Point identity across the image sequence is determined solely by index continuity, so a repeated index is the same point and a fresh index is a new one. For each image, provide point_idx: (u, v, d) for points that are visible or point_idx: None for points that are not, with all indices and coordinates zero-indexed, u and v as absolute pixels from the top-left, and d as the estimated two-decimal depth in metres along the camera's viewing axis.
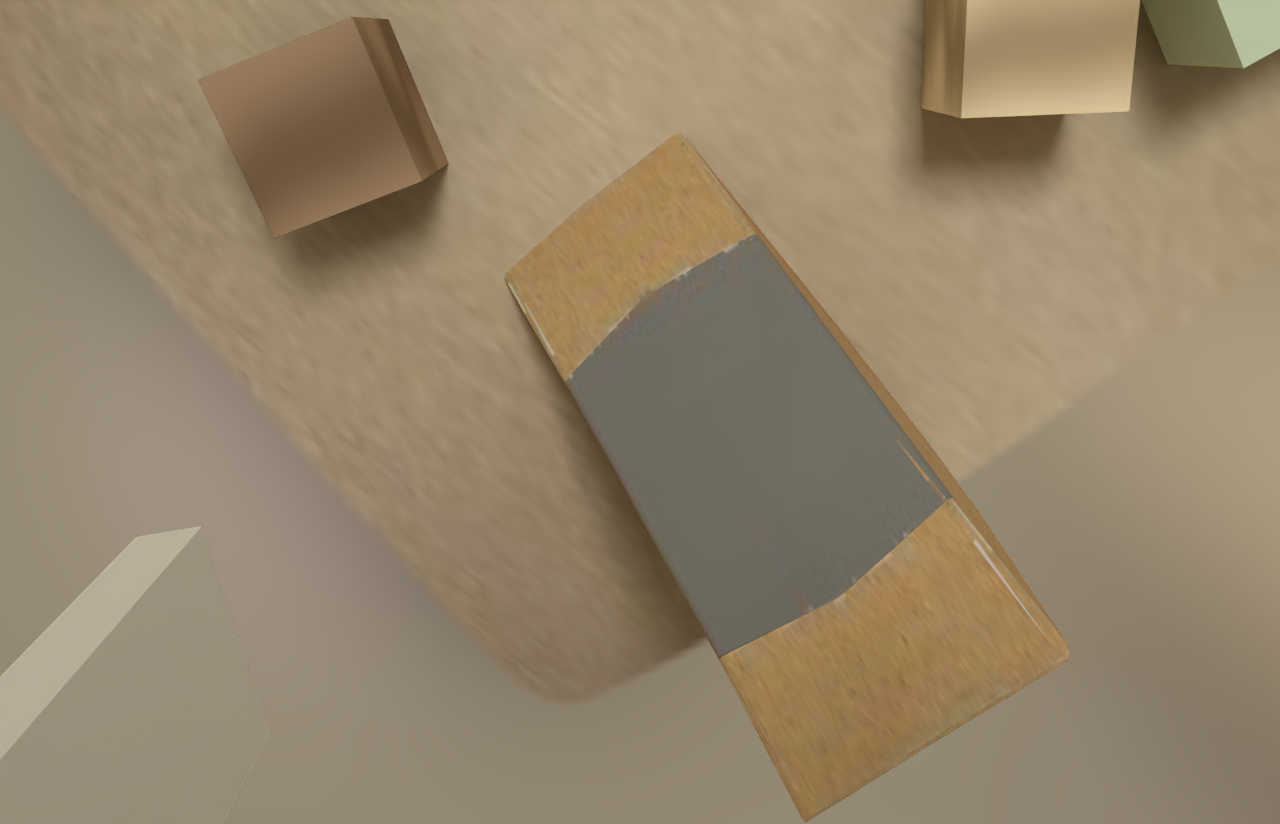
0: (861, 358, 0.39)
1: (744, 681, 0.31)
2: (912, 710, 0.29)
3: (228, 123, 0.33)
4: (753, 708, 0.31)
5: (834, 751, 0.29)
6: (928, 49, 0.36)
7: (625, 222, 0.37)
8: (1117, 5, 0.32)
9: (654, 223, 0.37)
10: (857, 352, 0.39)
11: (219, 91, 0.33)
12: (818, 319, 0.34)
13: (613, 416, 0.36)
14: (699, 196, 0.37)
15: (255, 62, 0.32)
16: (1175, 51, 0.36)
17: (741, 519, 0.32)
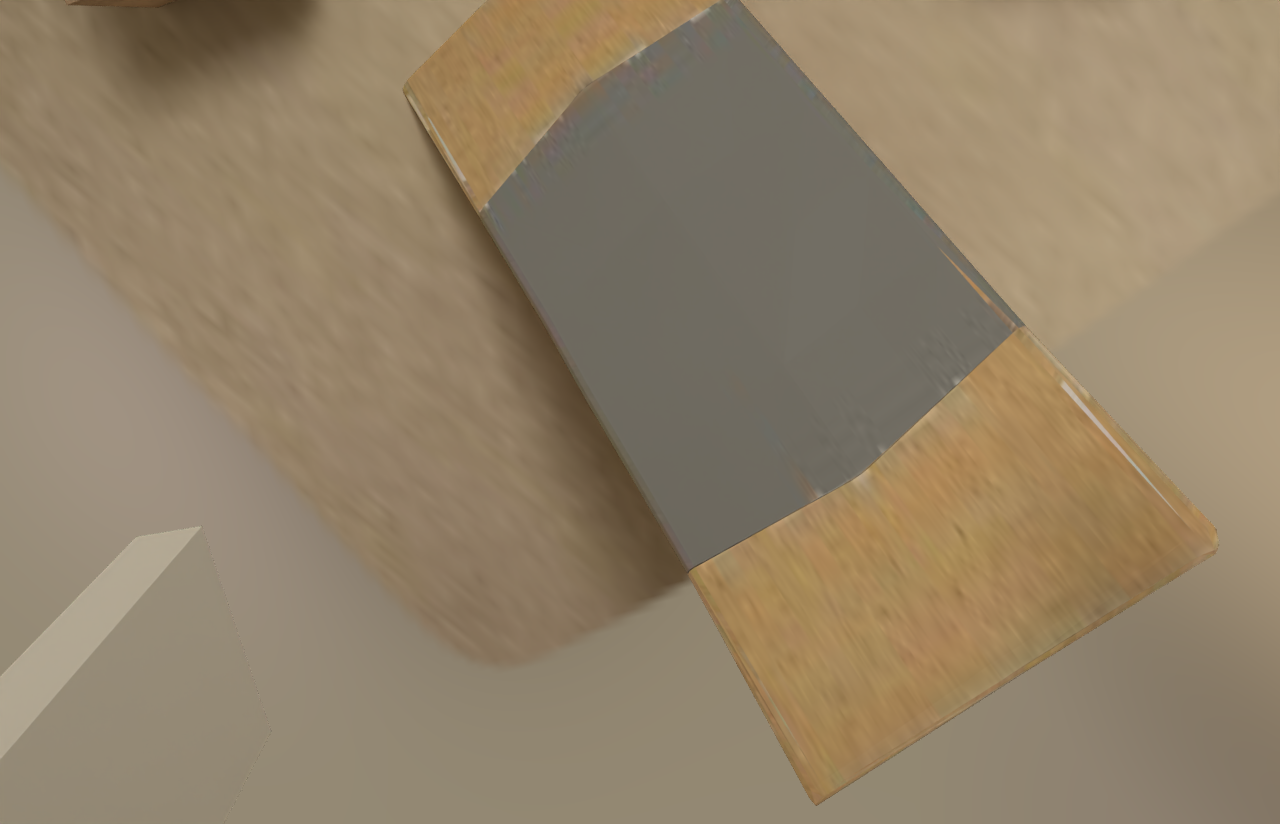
0: None
1: (723, 603, 0.21)
2: (975, 635, 0.19)
3: None
4: (737, 641, 0.21)
5: (857, 701, 0.20)
6: None
7: None
8: None
9: None
10: None
11: None
12: (823, 97, 0.24)
13: (542, 251, 0.26)
14: None
15: None
16: None
17: (718, 376, 0.23)
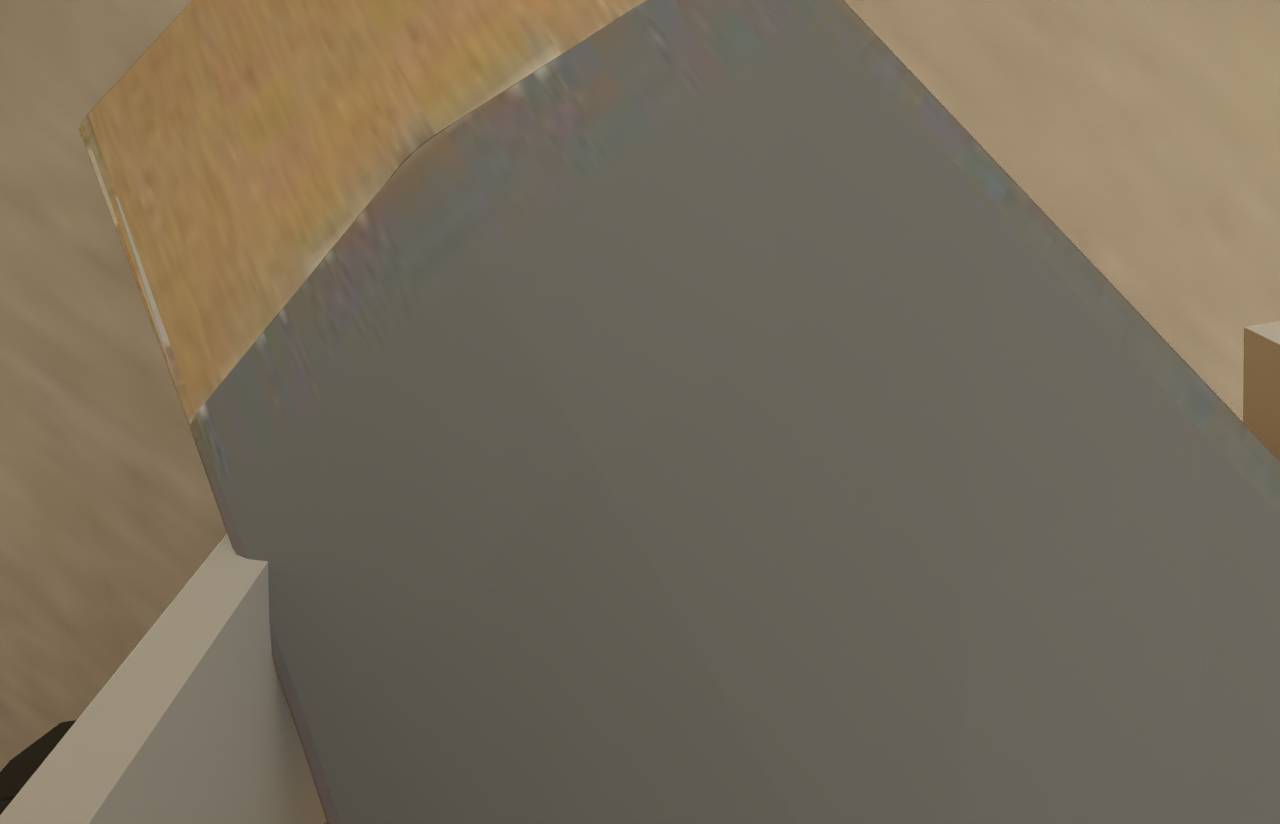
0: None
1: None
2: None
3: None
4: None
5: None
6: None
7: None
8: None
9: None
10: None
11: None
12: (1027, 199, 0.09)
13: (304, 547, 0.11)
14: None
15: None
16: None
17: None
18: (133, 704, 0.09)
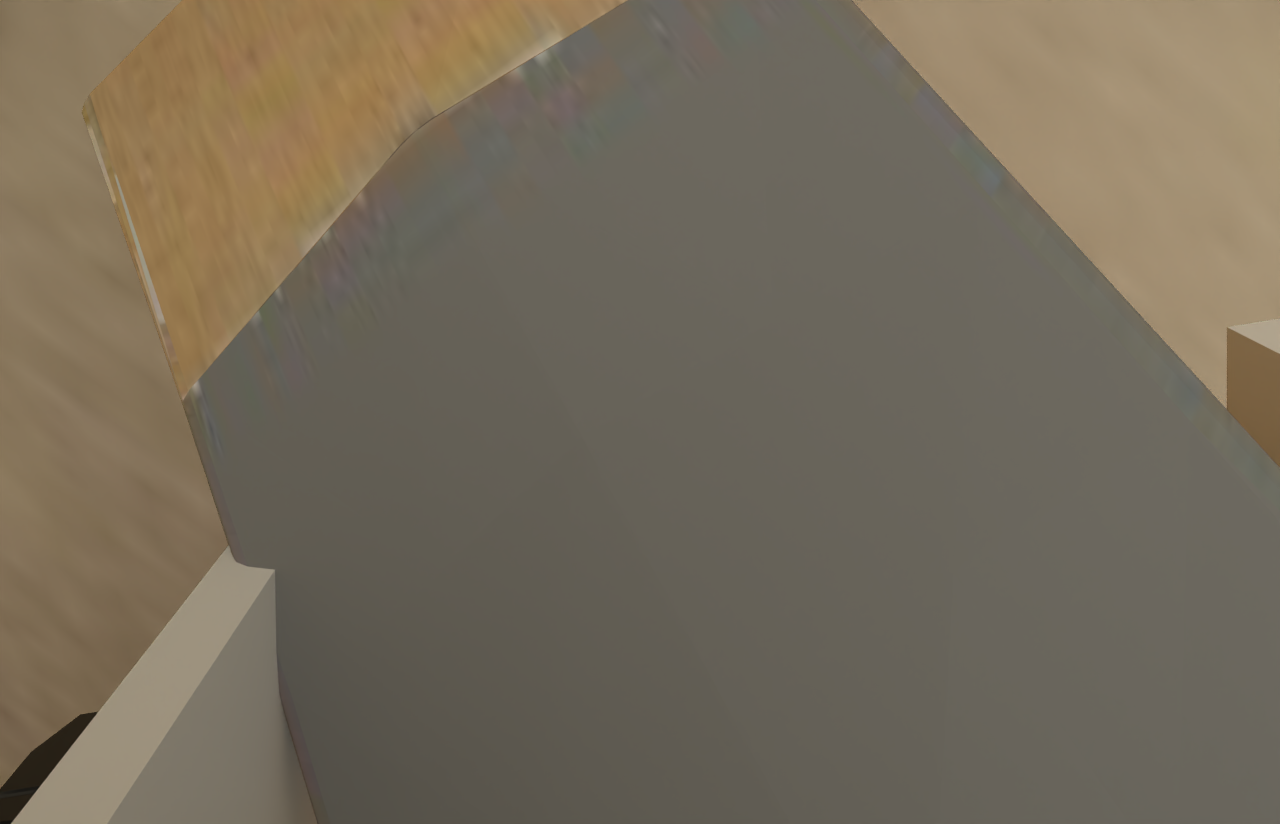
0: None
1: None
2: None
3: None
4: None
5: None
6: None
7: None
8: None
9: None
10: None
11: None
12: (1021, 189, 0.09)
13: (293, 524, 0.11)
14: None
15: None
16: None
17: None
18: (155, 695, 0.09)
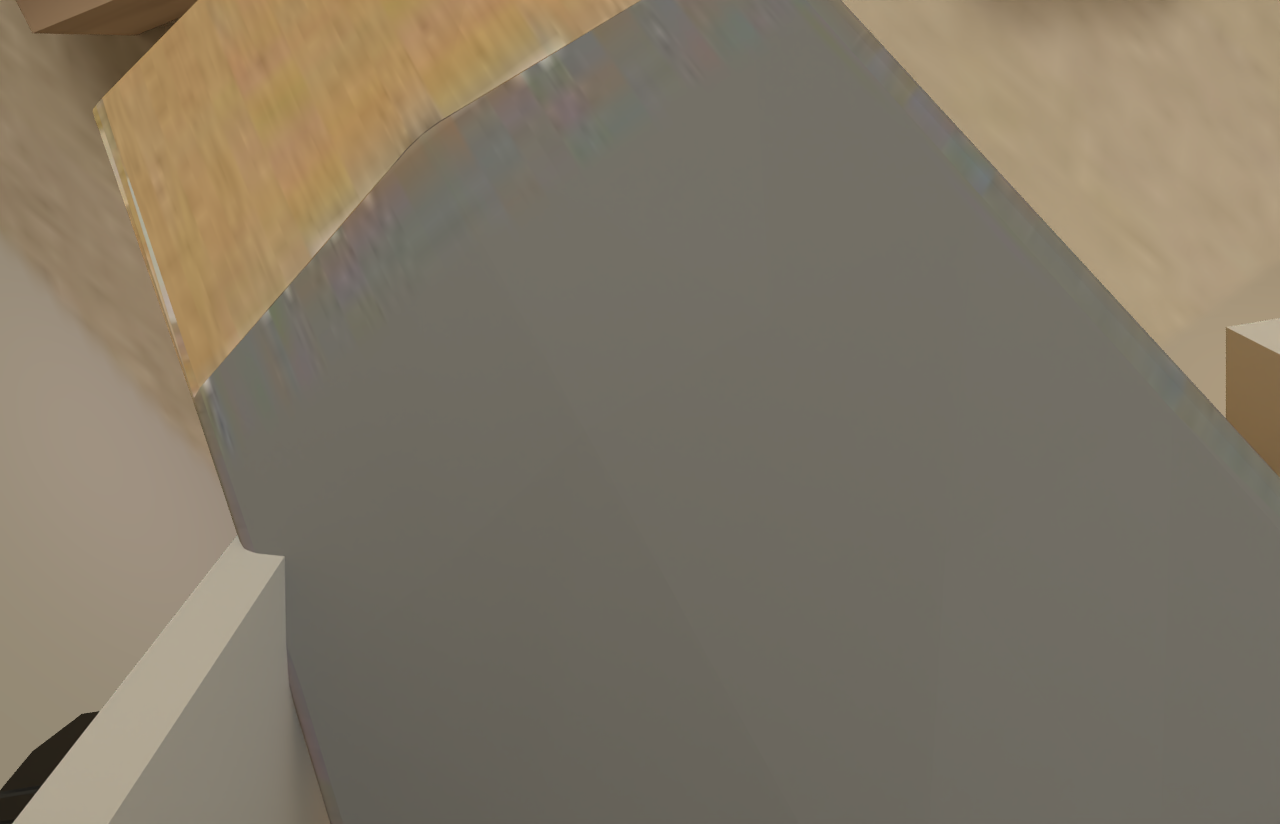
0: None
1: None
2: None
3: None
4: None
5: None
6: None
7: None
8: None
9: None
10: None
11: None
12: (1010, 188, 0.09)
13: (302, 516, 0.11)
14: None
15: None
16: None
17: None
18: (157, 694, 0.09)
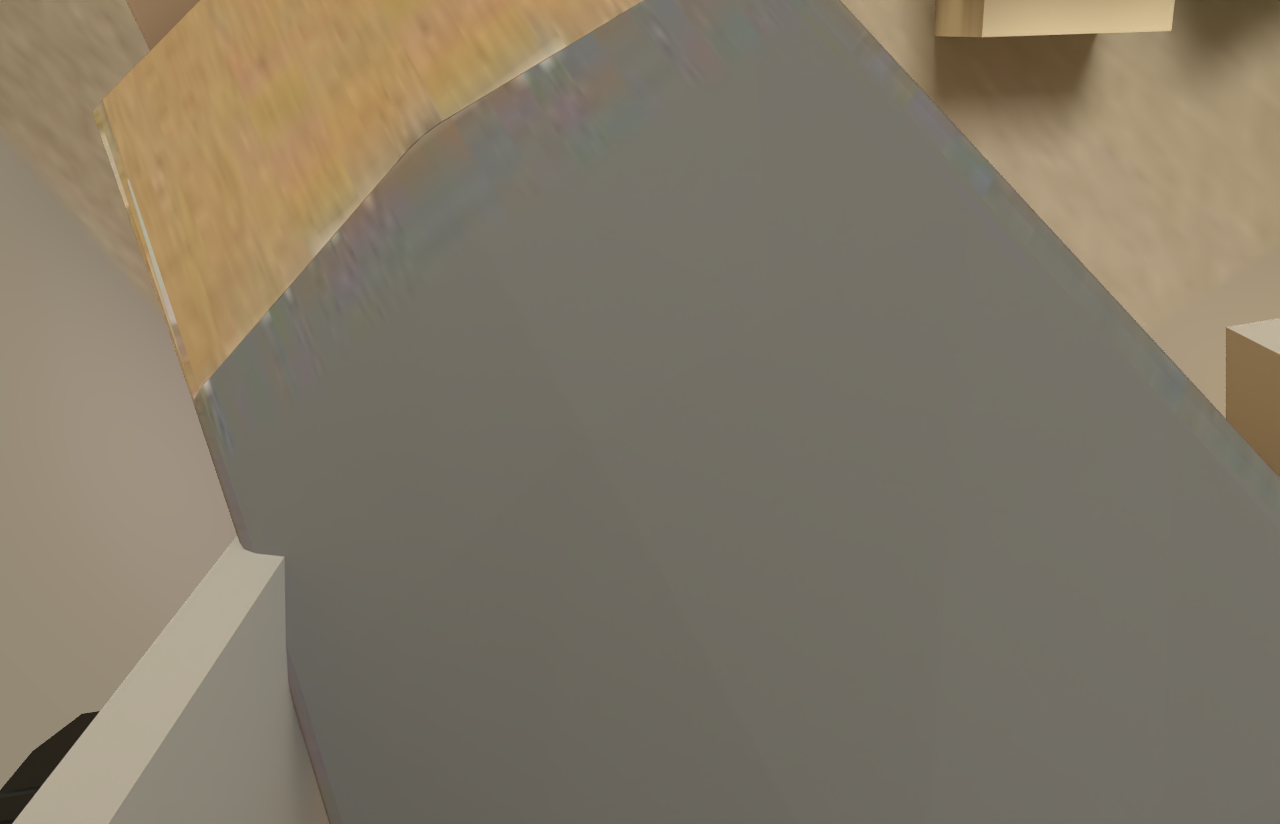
0: None
1: None
2: None
3: (154, 36, 0.29)
4: None
5: None
6: None
7: None
8: None
9: None
10: None
11: None
12: (1011, 190, 0.09)
13: (303, 518, 0.11)
14: None
15: None
16: None
17: None
18: (156, 695, 0.09)
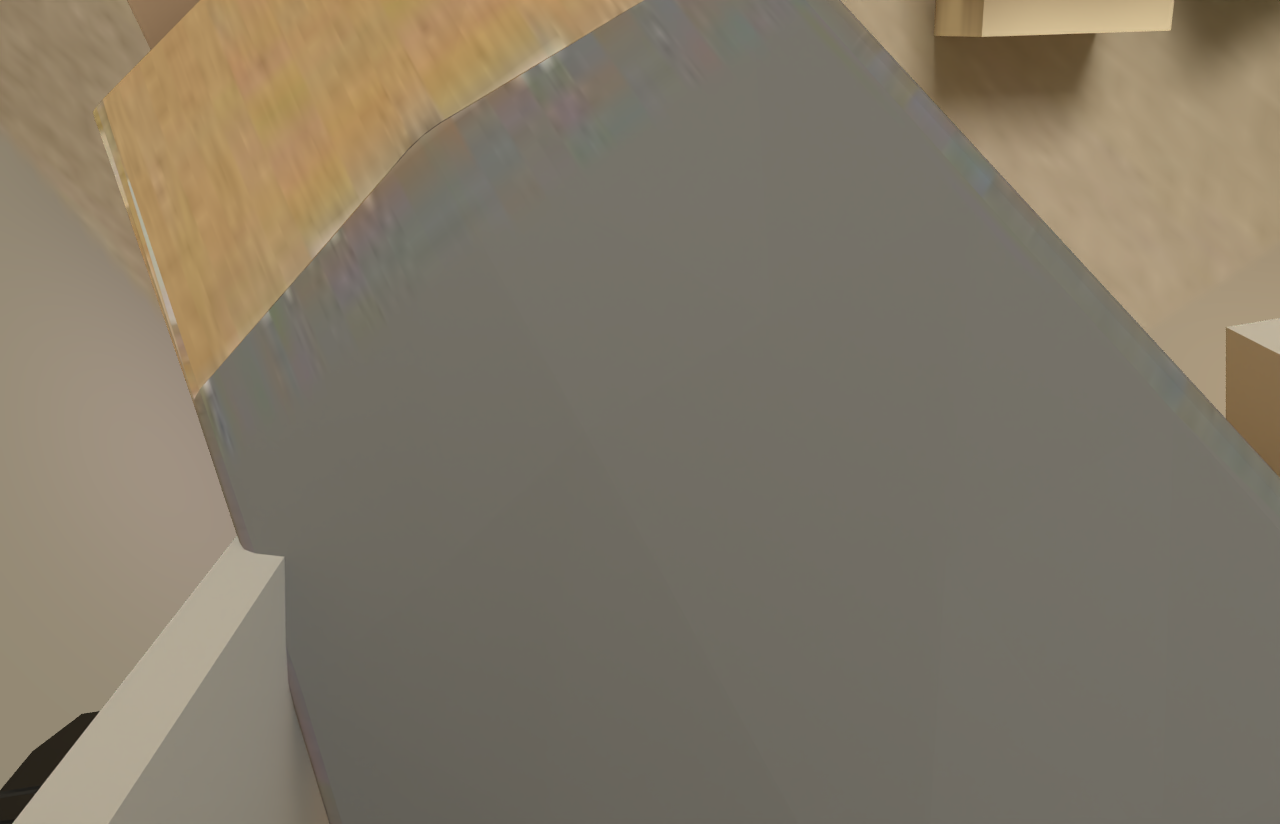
0: None
1: None
2: None
3: (154, 35, 0.29)
4: None
5: None
6: None
7: None
8: None
9: None
10: None
11: None
12: (1011, 190, 0.09)
13: (302, 518, 0.11)
14: None
15: None
16: None
17: None
18: (156, 694, 0.09)
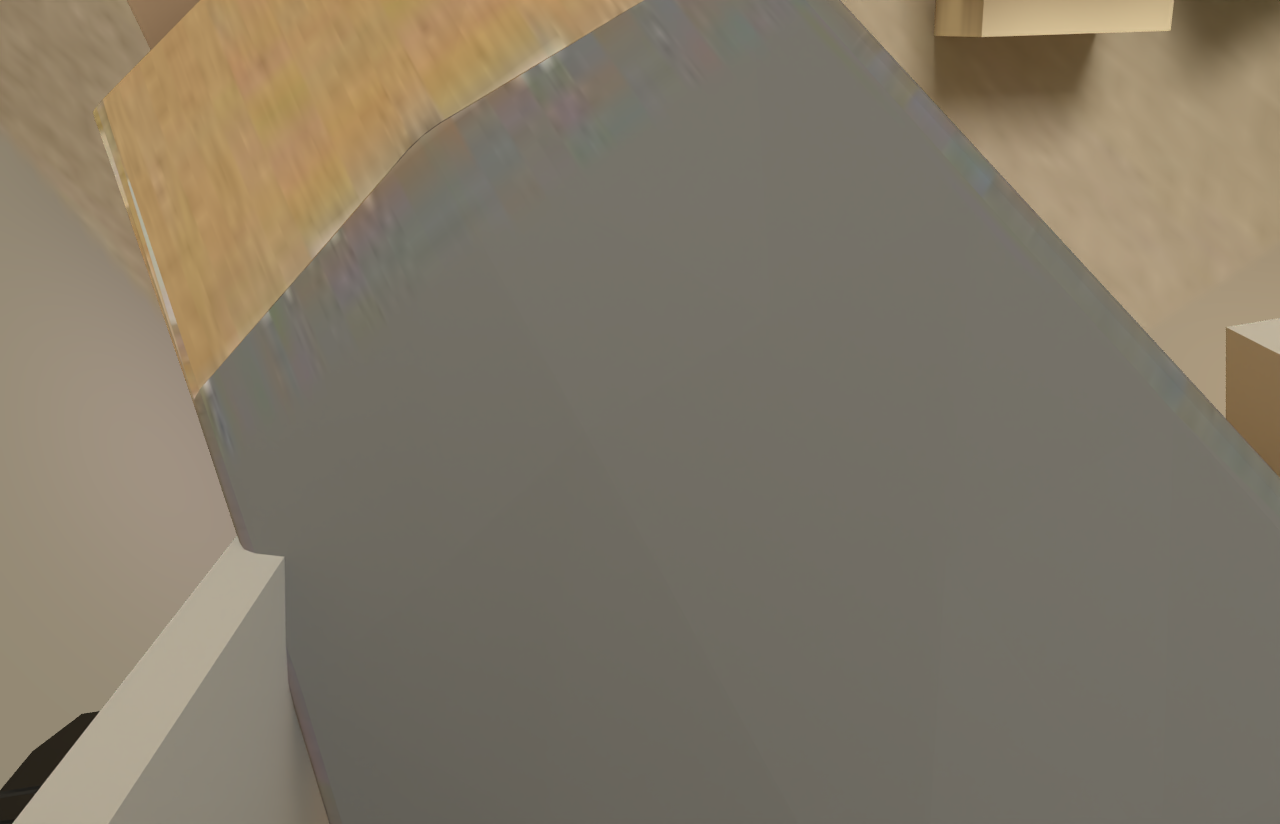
0: None
1: None
2: None
3: (154, 36, 0.29)
4: None
5: None
6: None
7: None
8: None
9: None
10: None
11: None
12: (1011, 190, 0.09)
13: (302, 518, 0.11)
14: None
15: None
16: None
17: None
18: (156, 694, 0.09)
